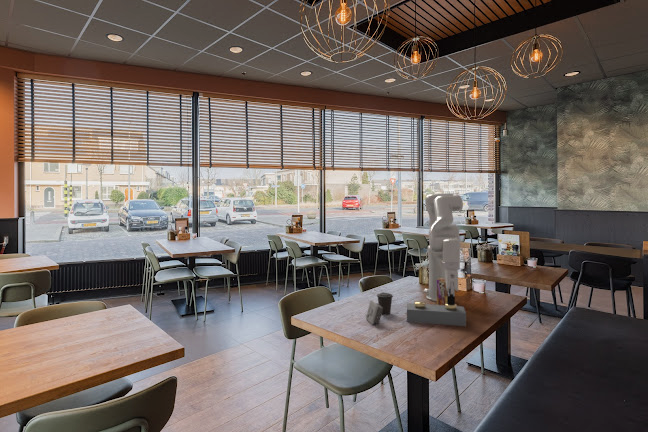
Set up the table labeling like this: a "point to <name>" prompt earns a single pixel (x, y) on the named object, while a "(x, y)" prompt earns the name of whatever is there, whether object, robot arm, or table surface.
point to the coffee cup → (385, 302)
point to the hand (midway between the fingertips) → (451, 304)
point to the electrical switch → (374, 313)
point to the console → (436, 315)
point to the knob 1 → (419, 304)
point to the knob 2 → (450, 306)
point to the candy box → (441, 291)
